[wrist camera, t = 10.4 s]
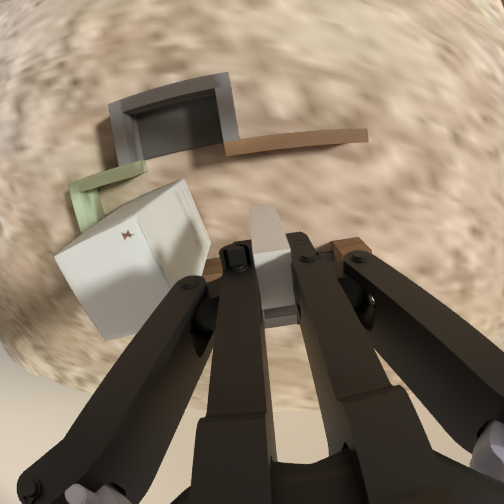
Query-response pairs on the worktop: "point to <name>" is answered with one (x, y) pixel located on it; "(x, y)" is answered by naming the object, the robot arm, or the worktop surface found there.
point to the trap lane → (191, 136)
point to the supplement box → (135, 258)
